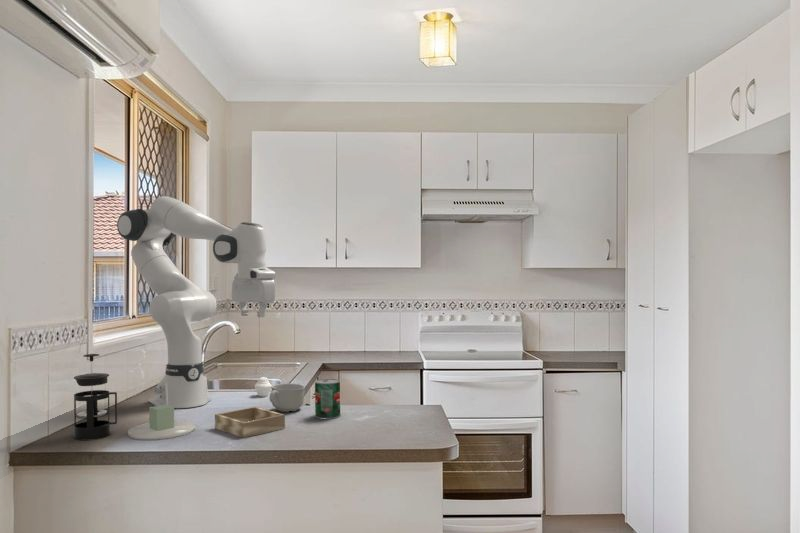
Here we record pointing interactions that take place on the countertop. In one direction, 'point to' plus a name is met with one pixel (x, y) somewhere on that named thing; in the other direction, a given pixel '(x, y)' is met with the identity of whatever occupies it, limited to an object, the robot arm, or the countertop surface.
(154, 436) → the white round dish
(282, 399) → the teacup
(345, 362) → the countertop surface
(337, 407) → the canned tomato
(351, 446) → the countertop surface
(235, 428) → the wooden frame
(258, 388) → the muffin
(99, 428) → the french press
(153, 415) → the block
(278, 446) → the countertop surface
